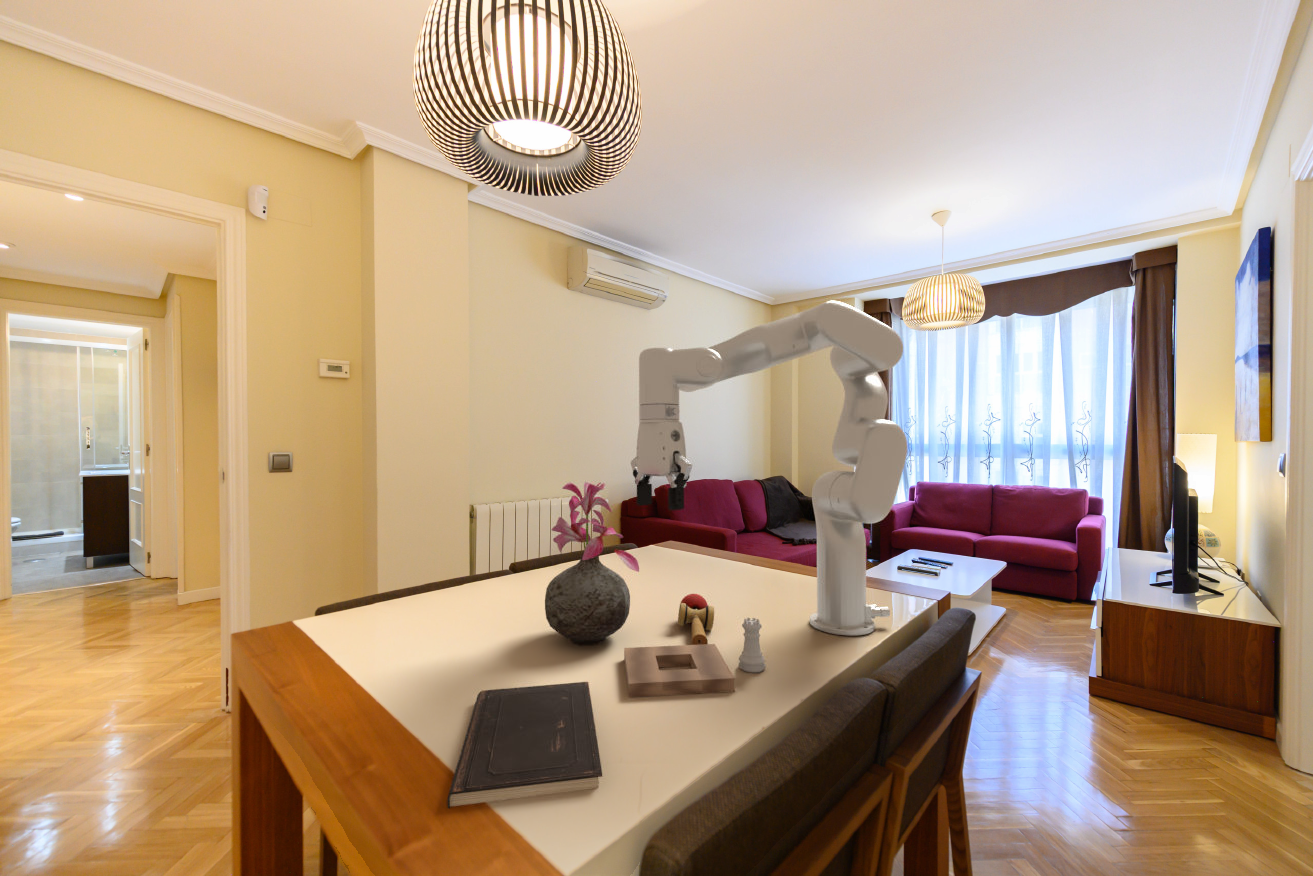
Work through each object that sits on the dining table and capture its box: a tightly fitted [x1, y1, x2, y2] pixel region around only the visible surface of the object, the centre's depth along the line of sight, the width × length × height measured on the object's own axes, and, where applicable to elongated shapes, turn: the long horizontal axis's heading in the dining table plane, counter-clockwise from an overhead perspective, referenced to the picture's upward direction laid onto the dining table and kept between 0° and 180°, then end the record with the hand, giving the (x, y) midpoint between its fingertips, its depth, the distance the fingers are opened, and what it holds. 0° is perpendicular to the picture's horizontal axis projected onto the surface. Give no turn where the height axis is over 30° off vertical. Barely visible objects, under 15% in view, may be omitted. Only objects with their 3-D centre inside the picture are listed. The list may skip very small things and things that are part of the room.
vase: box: [544, 481, 640, 646], centre depth 104 cm, size 17×17×30 cm
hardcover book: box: [446, 681, 603, 809], centre depth 68 cm, size 16×23×2 cm
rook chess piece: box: [738, 617, 766, 674], centre depth 90 cm, size 4×4×8 cm
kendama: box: [677, 593, 715, 645], centre depth 107 cm, size 8×6×18 cm
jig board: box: [623, 643, 736, 698], centre depth 88 cm, size 16×14×2 cm
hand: (659, 507), depth 100 cm, fingers open, 9 cm apart
